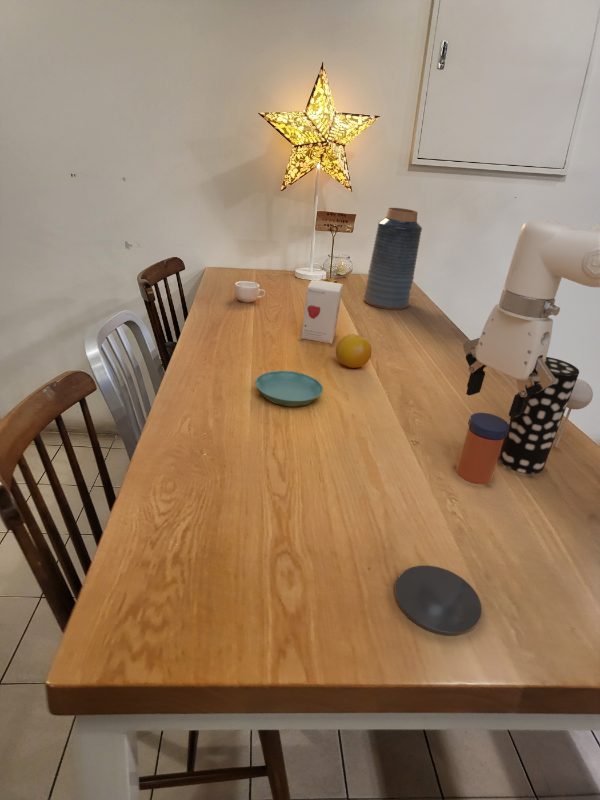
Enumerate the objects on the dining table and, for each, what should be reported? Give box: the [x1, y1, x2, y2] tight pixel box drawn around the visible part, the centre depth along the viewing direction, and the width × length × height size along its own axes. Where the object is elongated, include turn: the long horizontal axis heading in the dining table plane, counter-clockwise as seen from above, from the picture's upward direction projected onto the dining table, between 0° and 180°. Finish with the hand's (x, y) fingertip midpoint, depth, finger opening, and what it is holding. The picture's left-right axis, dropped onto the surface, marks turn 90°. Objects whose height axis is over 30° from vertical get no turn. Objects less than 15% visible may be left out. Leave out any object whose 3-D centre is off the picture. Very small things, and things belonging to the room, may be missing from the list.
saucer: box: [254, 370, 324, 408], centre depth 117 cm, size 15×15×3 cm
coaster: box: [394, 565, 483, 637], centre depth 69 cm, size 11×11×1 cm
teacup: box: [234, 280, 266, 304], centre depth 175 cm, size 10×8×5 cm
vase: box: [363, 207, 423, 311], centre depth 184 cm, size 16×16×32 cm
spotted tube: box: [498, 356, 580, 475], centre depth 99 cm, size 8×8×20 cm
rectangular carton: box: [300, 278, 344, 344], centre depth 150 cm, size 9×9×15 cm
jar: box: [455, 426, 506, 485], centre depth 95 cm, size 6×6×10 cm
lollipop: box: [554, 378, 594, 448], centre depth 106 cm, size 6×6×15 cm
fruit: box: [335, 333, 372, 369], centre depth 135 cm, size 9×8×8 cm
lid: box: [467, 412, 509, 440], centre depth 93 cm, size 6×6×2 cm
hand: (493, 403), depth 91 cm, fingers open, 7 cm apart
